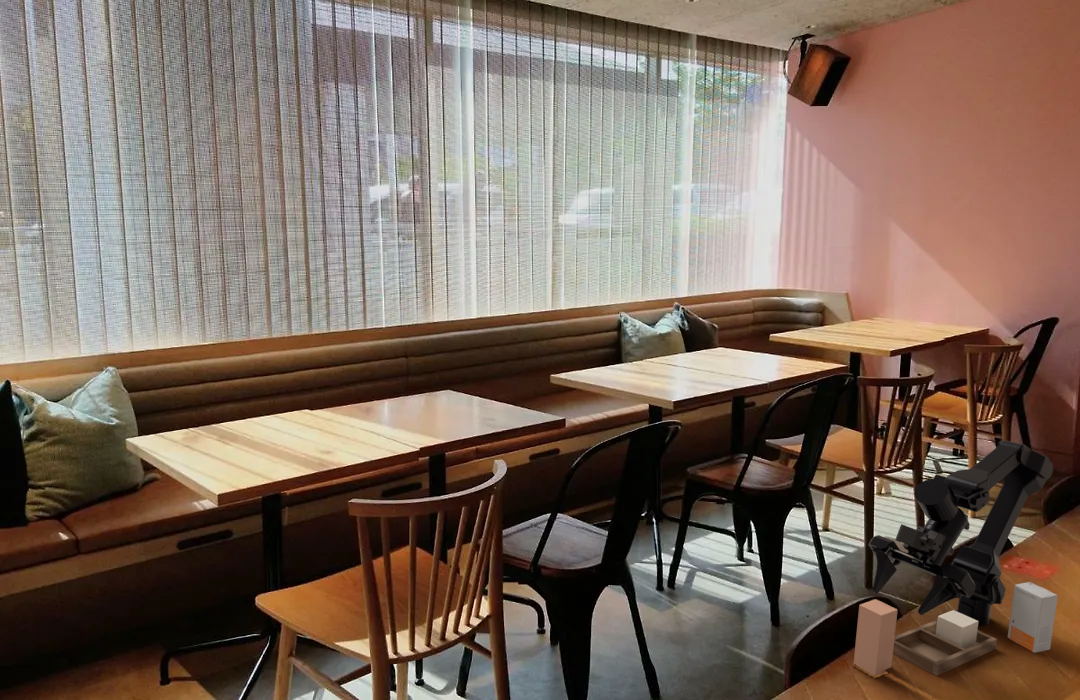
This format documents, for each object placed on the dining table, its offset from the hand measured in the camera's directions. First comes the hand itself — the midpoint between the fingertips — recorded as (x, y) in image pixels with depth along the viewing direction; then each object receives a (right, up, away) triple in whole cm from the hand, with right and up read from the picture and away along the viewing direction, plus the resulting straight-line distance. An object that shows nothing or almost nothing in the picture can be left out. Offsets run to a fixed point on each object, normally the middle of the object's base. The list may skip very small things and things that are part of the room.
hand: (896, 602), depth 150 cm
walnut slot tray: (+10, -11, +5) cm, 16 cm away
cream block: (+14, -10, +7) cm, 19 cm away
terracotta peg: (-5, -12, -1) cm, 13 cm away
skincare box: (+29, -11, +8) cm, 32 cm away
